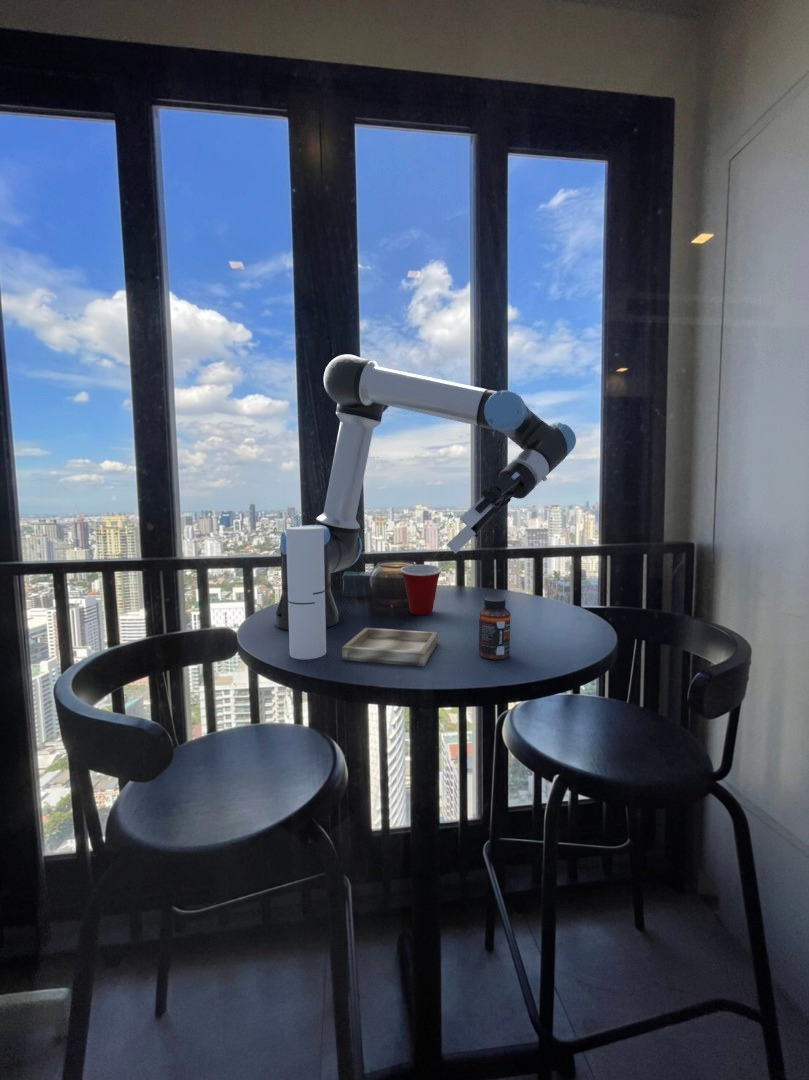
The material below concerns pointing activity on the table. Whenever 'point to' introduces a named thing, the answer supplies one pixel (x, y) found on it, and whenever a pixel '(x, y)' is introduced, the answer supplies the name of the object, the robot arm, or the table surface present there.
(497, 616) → the supplement bottle
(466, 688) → the table surface
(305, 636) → the cylindrical container
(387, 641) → the tray
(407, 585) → the plastic cup
